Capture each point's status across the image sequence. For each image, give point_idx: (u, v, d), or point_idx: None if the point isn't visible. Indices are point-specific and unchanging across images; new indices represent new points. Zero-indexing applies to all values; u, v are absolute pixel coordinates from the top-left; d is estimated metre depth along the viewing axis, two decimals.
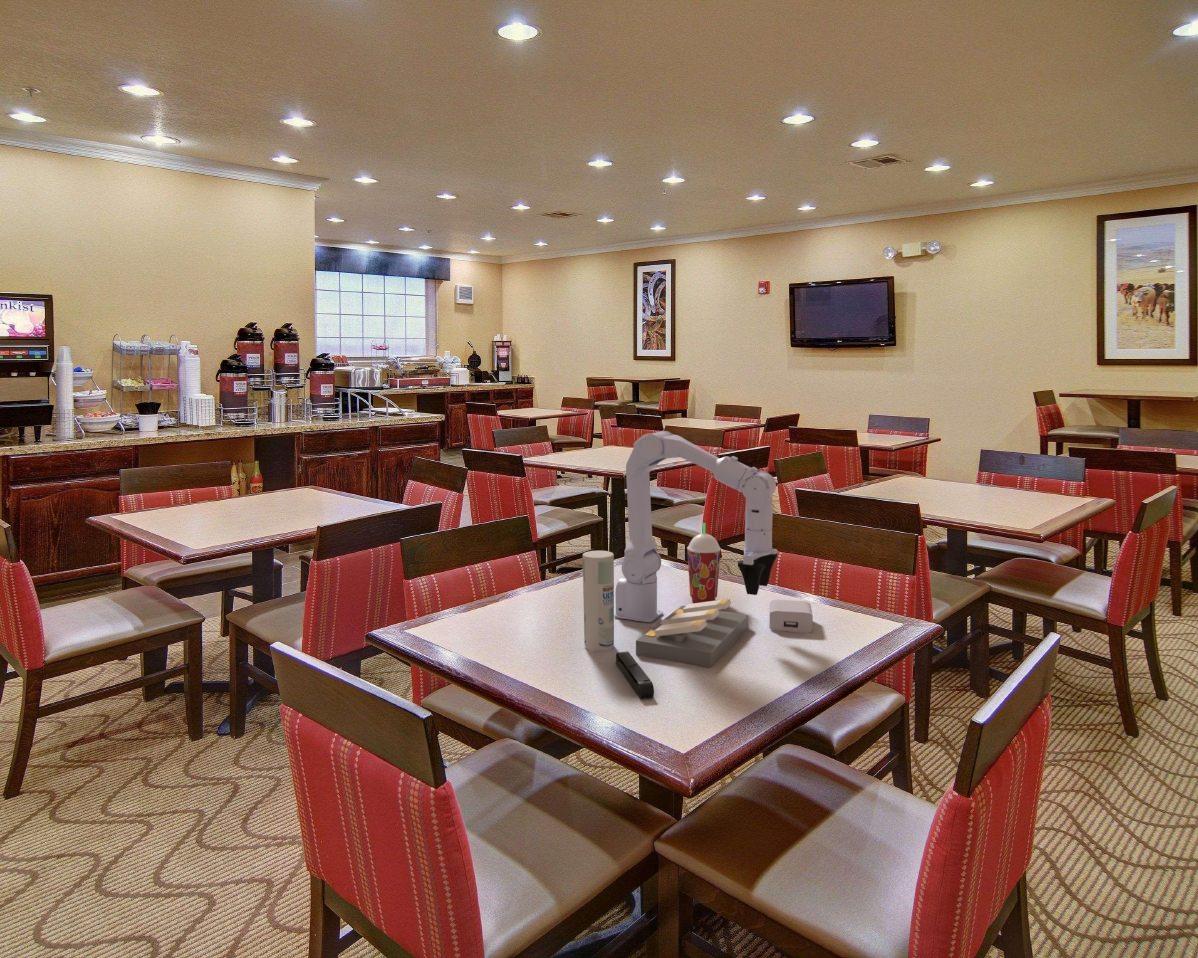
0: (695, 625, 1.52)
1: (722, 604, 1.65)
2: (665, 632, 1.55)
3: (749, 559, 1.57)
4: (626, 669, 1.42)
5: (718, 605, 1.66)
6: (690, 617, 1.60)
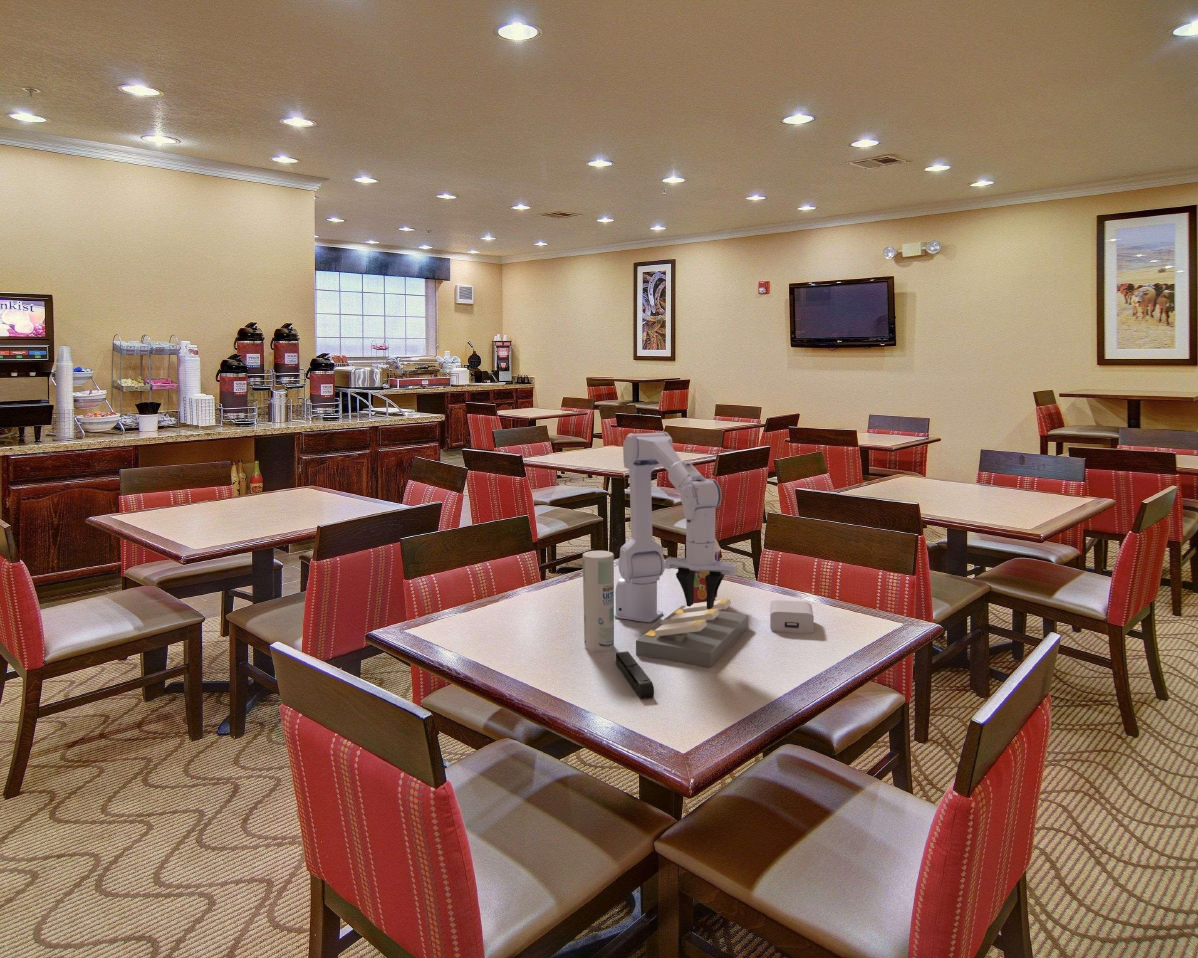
0: (695, 625, 1.52)
1: (722, 604, 1.65)
2: (665, 632, 1.55)
3: None
4: (626, 669, 1.42)
5: (718, 605, 1.66)
6: (690, 617, 1.60)
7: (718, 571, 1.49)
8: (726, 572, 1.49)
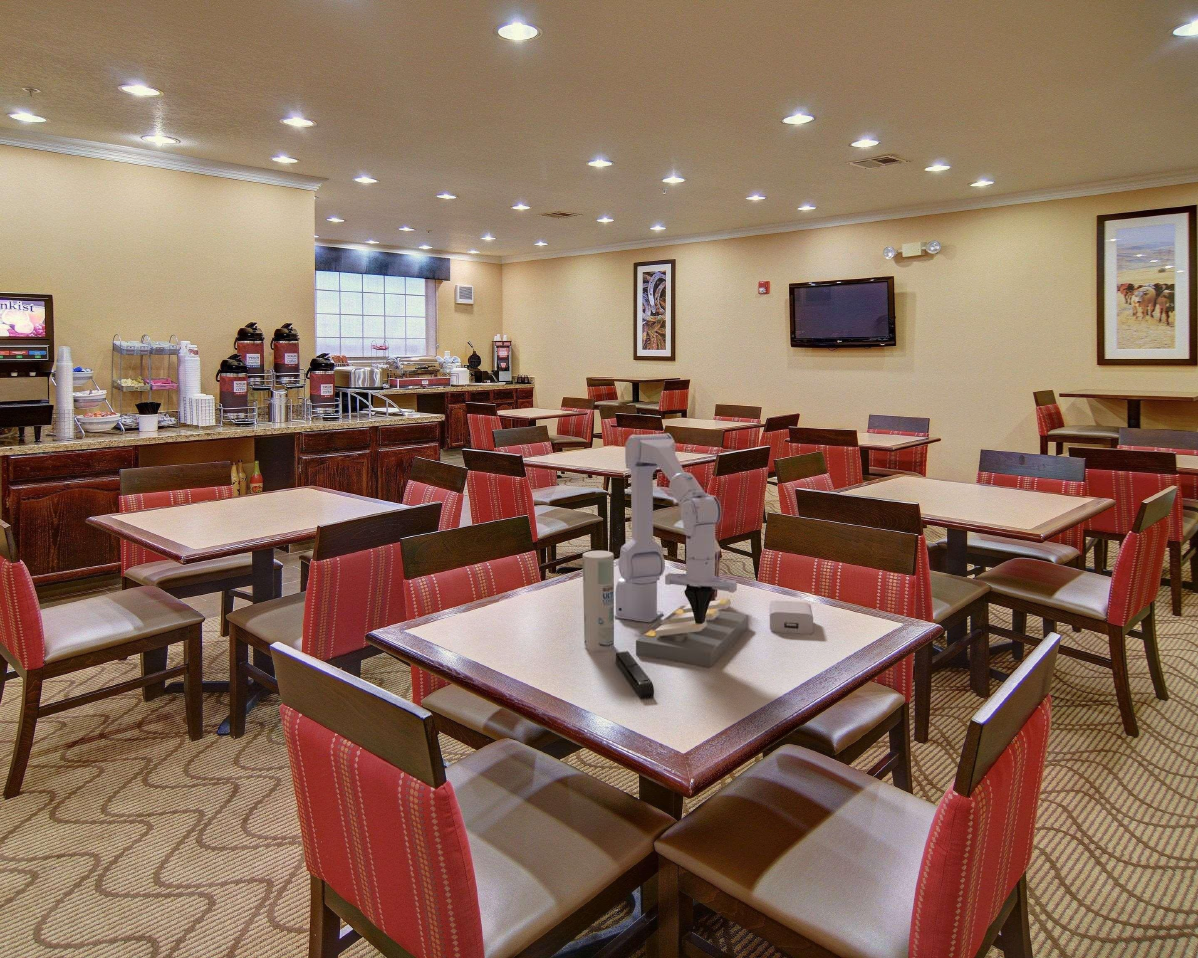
0: (695, 625, 1.52)
1: (722, 604, 1.65)
2: (665, 632, 1.55)
3: None
4: (626, 669, 1.42)
5: (718, 605, 1.66)
6: (690, 617, 1.60)
7: (718, 587, 1.50)
8: (726, 588, 1.49)
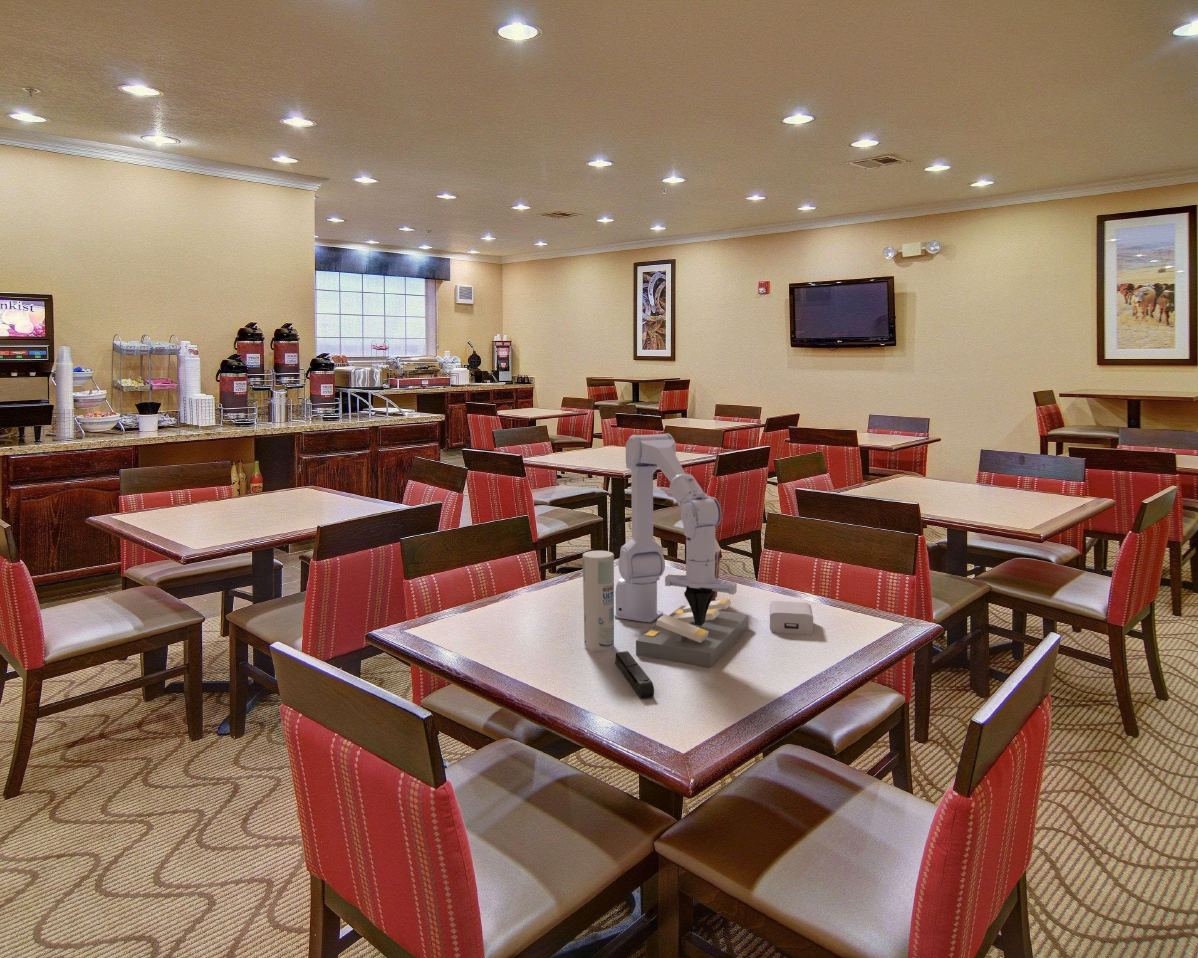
0: (698, 635, 1.52)
1: (722, 604, 1.65)
2: (666, 627, 1.54)
3: None
4: (626, 669, 1.42)
5: (718, 605, 1.66)
6: (690, 617, 1.60)
7: (718, 589, 1.50)
8: (726, 590, 1.49)
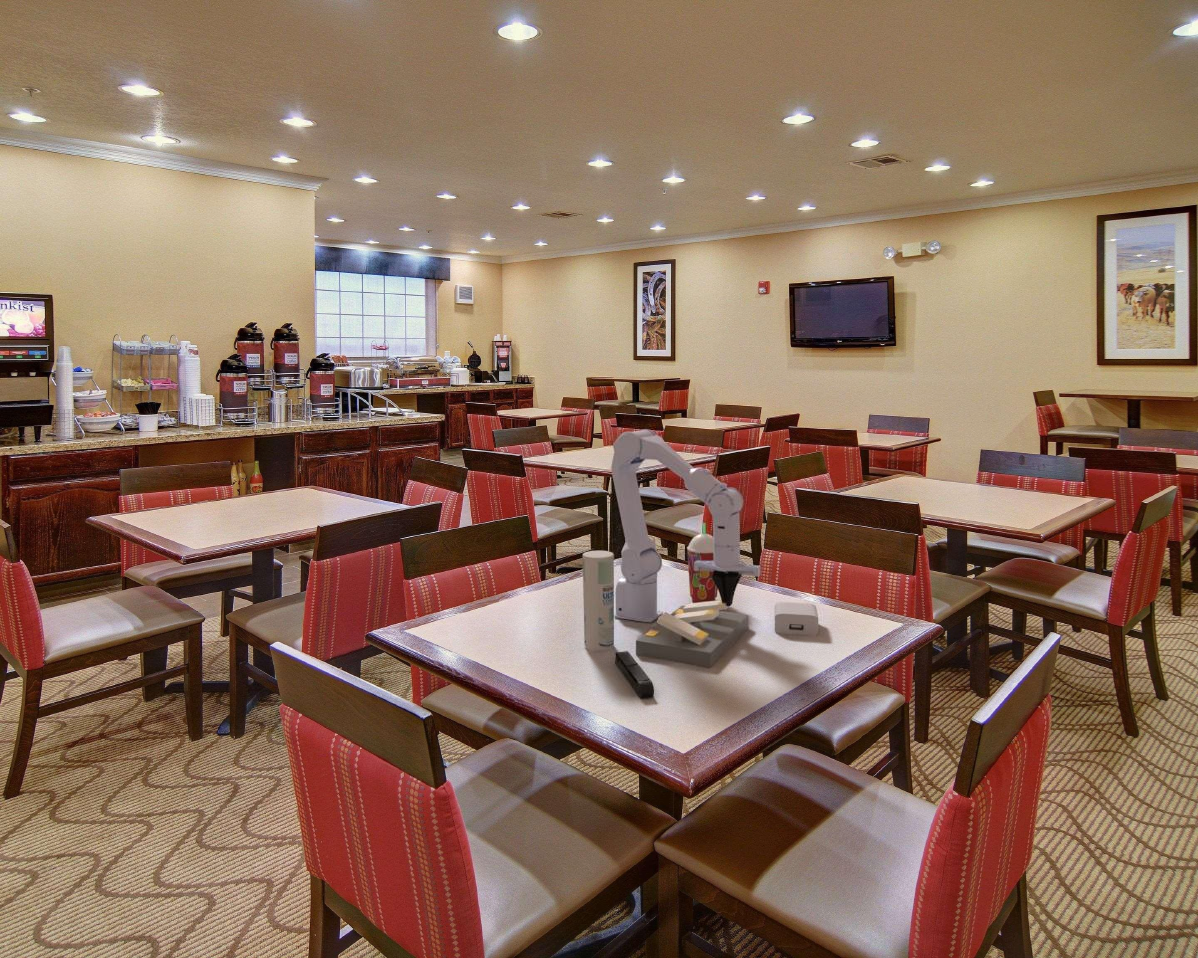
0: (698, 637, 1.52)
1: (722, 604, 1.65)
2: (667, 625, 1.54)
3: None
4: (626, 669, 1.42)
5: (718, 605, 1.66)
6: (690, 617, 1.60)
7: (743, 572, 1.64)
8: (751, 572, 1.63)
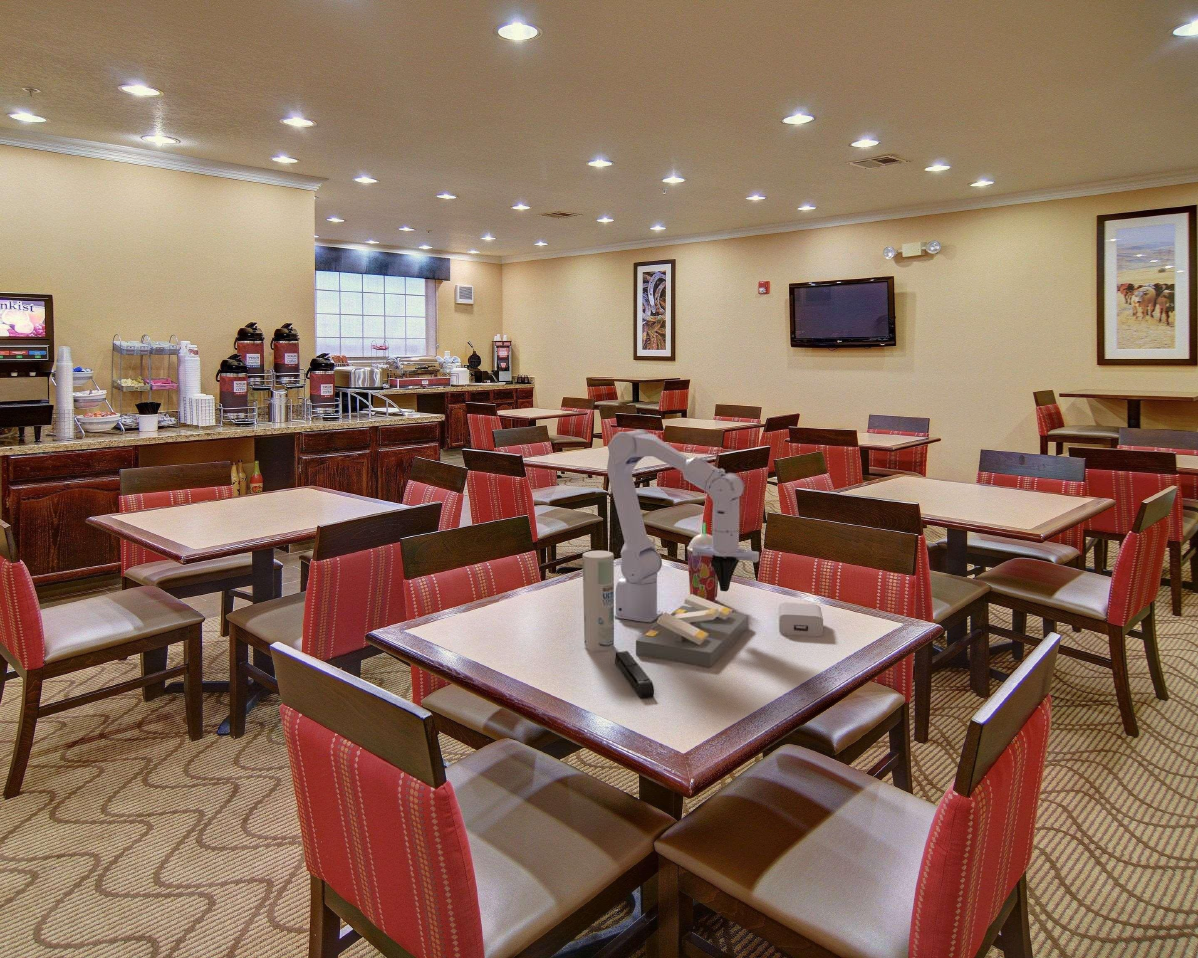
0: (698, 637, 1.52)
1: (724, 614, 1.65)
2: (667, 625, 1.54)
3: None
4: (626, 669, 1.43)
5: (720, 613, 1.66)
6: (690, 617, 1.60)
7: (742, 557, 1.63)
8: (749, 558, 1.63)
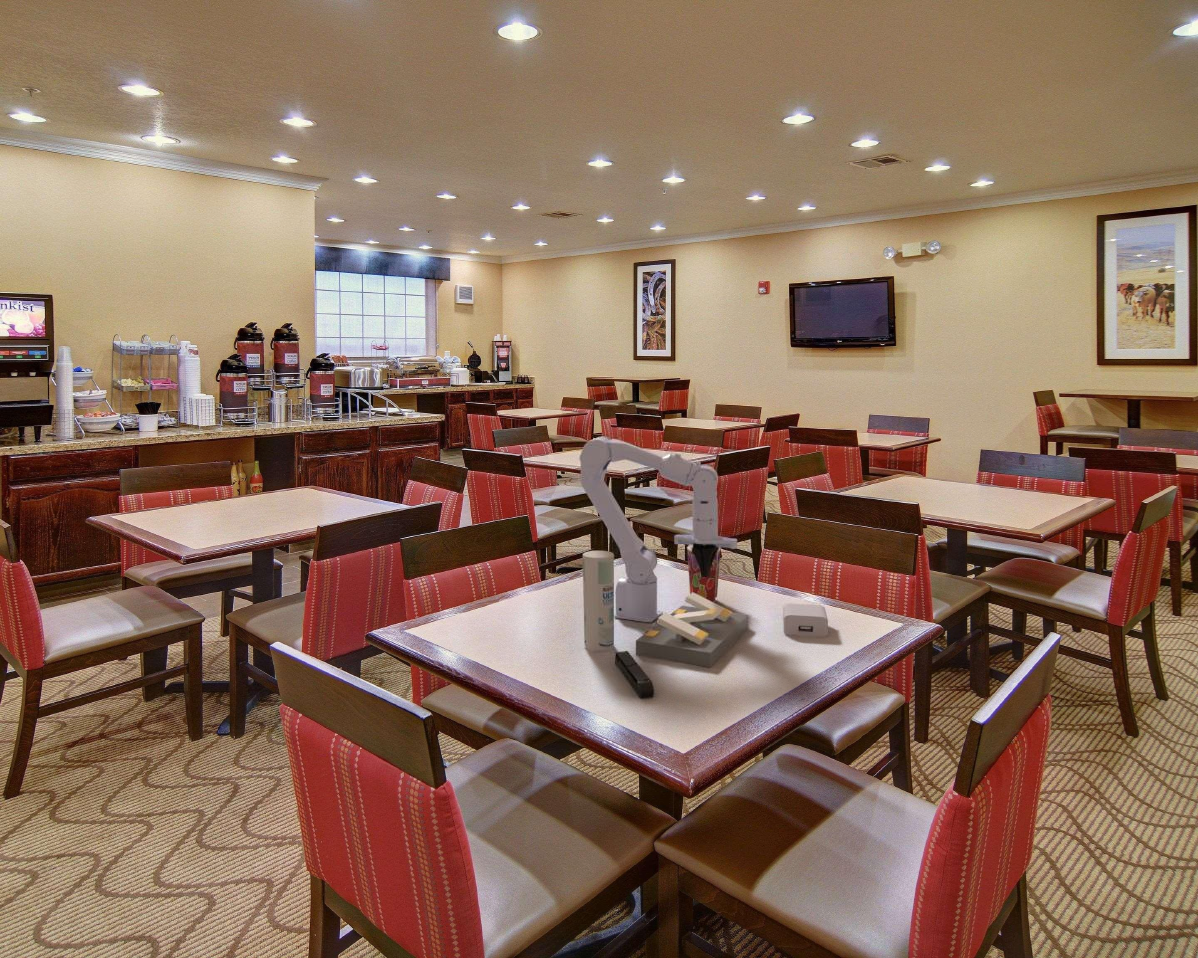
0: (698, 637, 1.52)
1: (724, 617, 1.65)
2: (667, 626, 1.54)
3: None
4: (626, 668, 1.43)
5: (720, 615, 1.66)
6: (690, 617, 1.60)
7: (721, 545, 1.72)
8: (728, 545, 1.71)
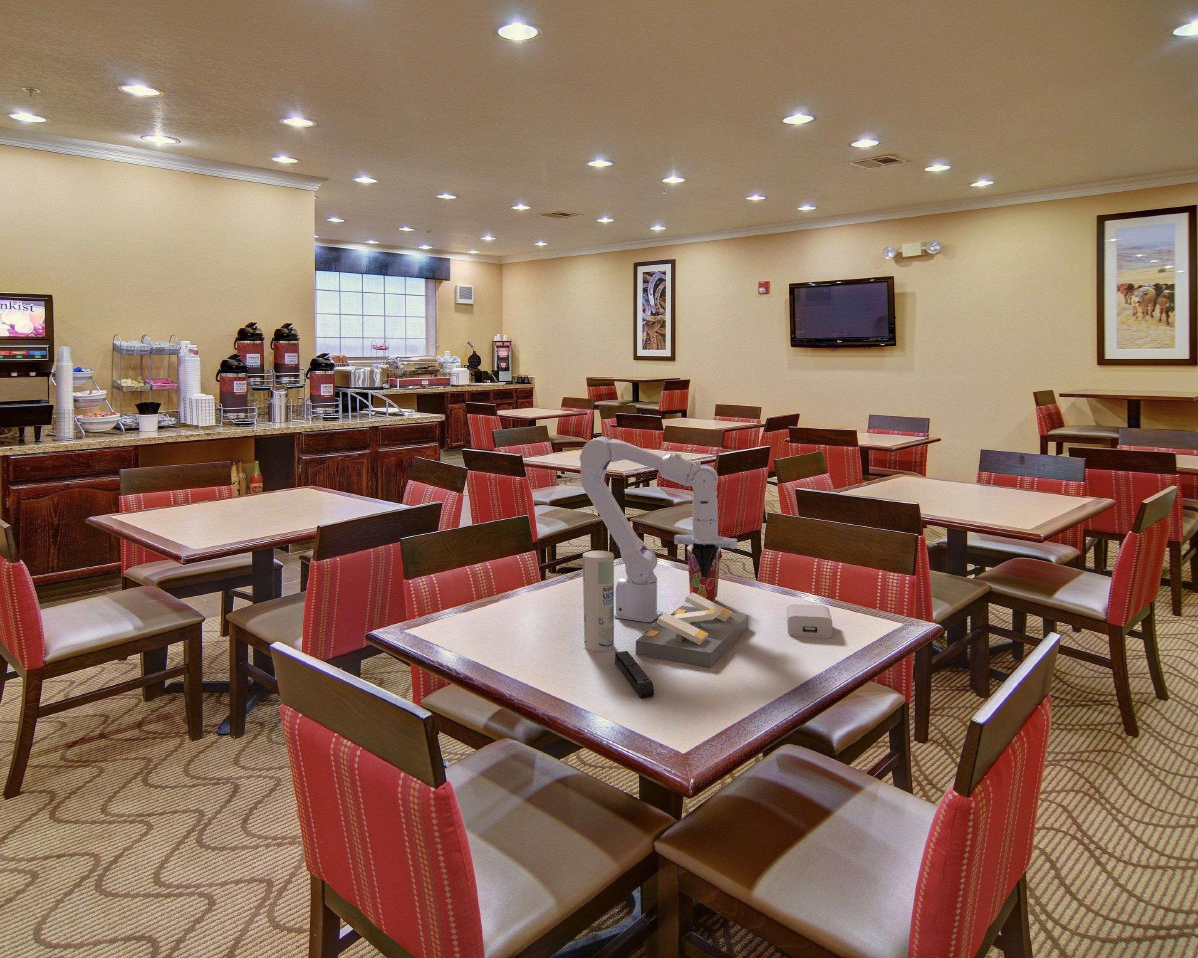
0: (698, 637, 1.52)
1: (724, 616, 1.65)
2: (667, 626, 1.54)
3: None
4: (626, 668, 1.43)
5: (720, 615, 1.66)
6: (690, 617, 1.60)
7: (721, 545, 1.72)
8: (728, 545, 1.71)
